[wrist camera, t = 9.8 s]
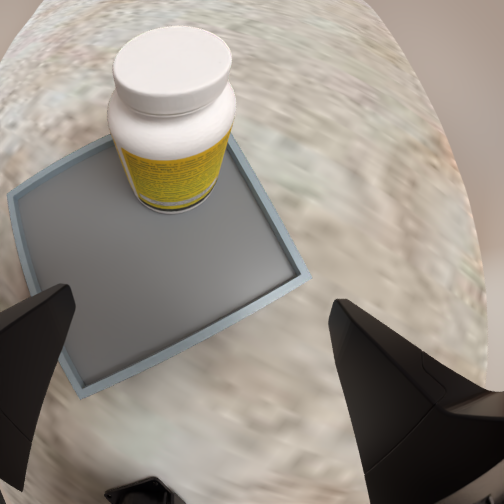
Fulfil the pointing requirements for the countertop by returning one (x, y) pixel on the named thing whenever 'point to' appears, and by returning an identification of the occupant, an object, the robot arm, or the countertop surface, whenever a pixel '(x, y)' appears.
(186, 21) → the countertop surface
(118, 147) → the pill bottle
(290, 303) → the countertop surface
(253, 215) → the grey square tray
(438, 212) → the countertop surface
